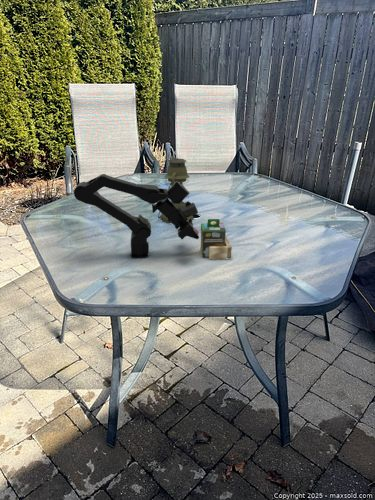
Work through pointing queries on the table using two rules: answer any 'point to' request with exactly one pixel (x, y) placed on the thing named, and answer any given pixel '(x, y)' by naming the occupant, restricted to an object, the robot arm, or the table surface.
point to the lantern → (174, 174)
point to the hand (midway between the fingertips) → (198, 238)
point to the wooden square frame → (220, 251)
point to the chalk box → (212, 235)
